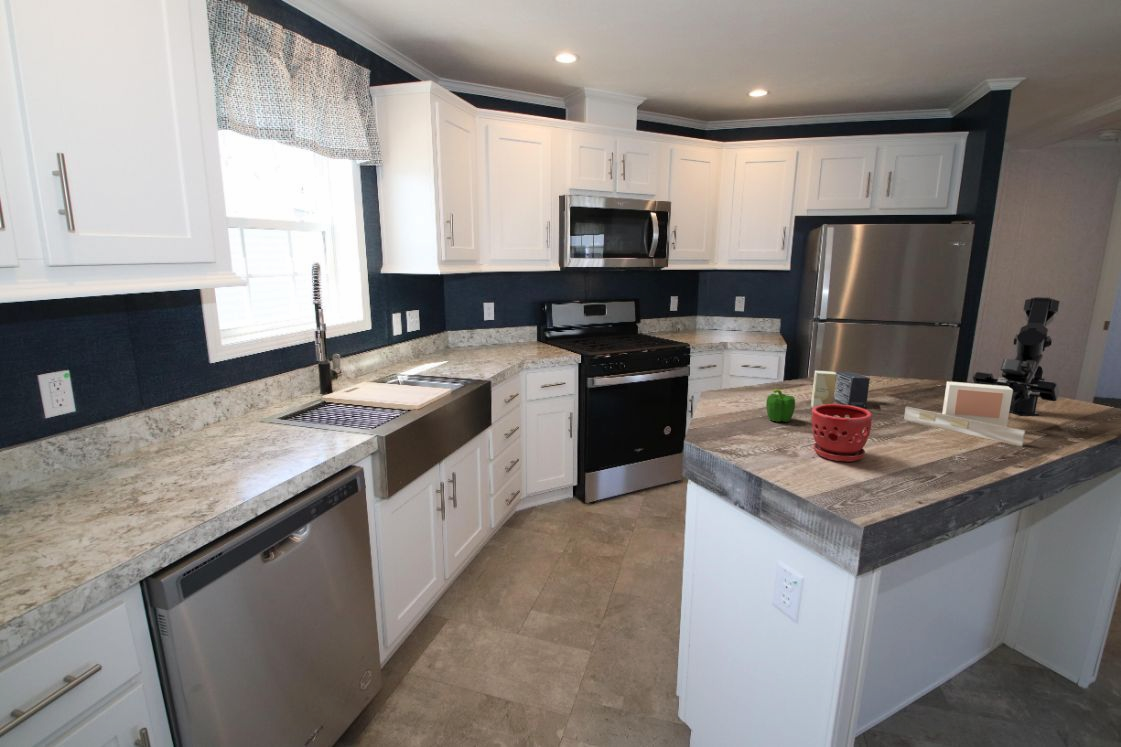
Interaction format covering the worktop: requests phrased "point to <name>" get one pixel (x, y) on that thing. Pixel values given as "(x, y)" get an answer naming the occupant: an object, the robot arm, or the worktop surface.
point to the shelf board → (972, 427)
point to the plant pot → (840, 431)
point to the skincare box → (823, 388)
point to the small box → (851, 389)
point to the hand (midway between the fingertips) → (1002, 408)
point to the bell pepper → (780, 407)
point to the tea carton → (978, 402)
